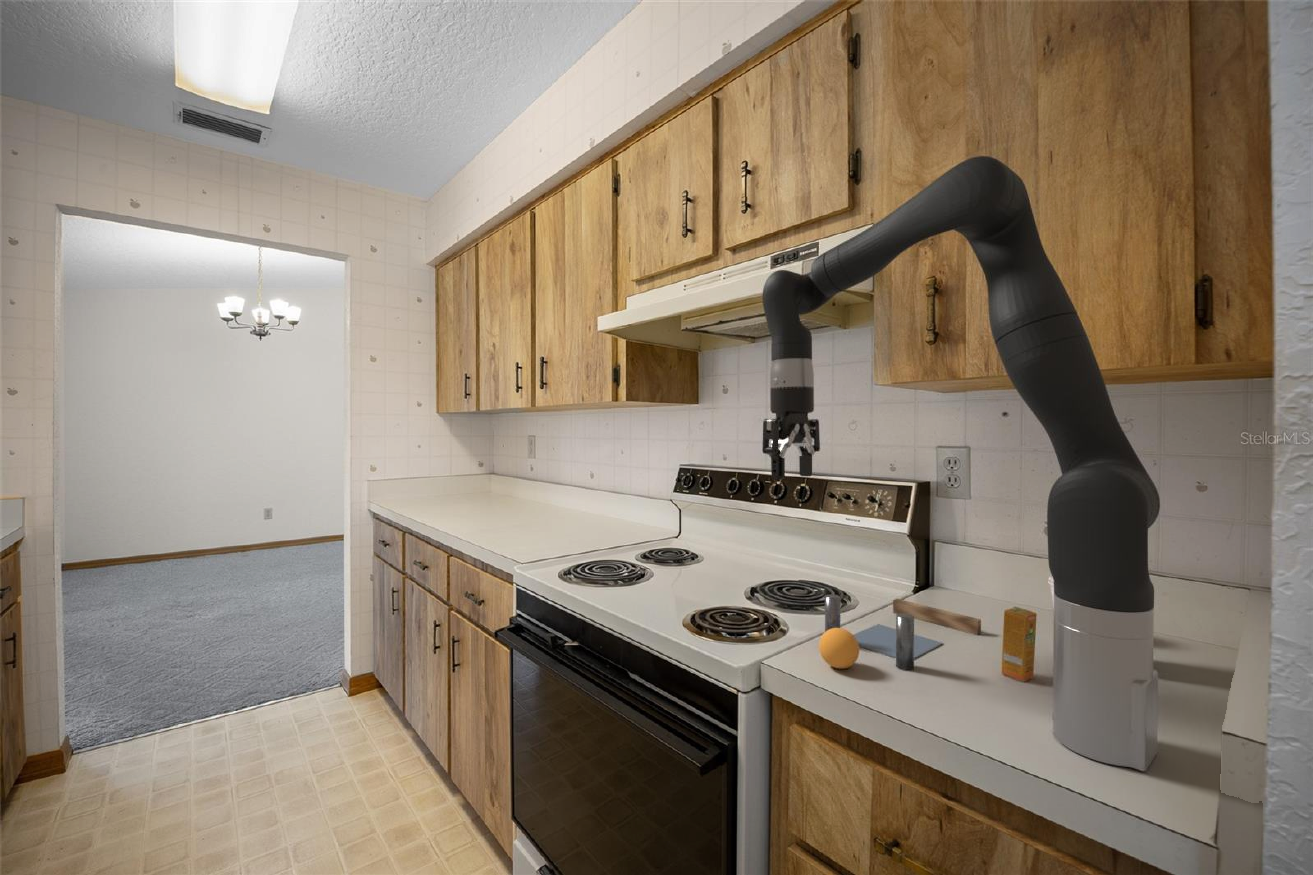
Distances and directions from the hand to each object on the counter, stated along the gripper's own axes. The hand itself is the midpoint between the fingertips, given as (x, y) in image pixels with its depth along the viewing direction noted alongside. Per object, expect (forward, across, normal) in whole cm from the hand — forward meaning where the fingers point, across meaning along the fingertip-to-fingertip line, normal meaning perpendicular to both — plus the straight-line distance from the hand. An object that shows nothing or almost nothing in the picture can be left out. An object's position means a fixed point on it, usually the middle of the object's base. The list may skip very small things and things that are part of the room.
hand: (792, 477), depth 100 cm
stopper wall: (+29, +27, -14) cm, 42 cm away
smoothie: (+29, +39, -33) cm, 59 cm away
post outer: (+29, +4, -6) cm, 30 cm away
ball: (+26, -5, -12) cm, 29 cm away
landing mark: (+29, +11, -13) cm, 33 cm away
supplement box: (+29, +12, -32) cm, 45 cm away
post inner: (+29, +3, -19) cm, 35 cm away
